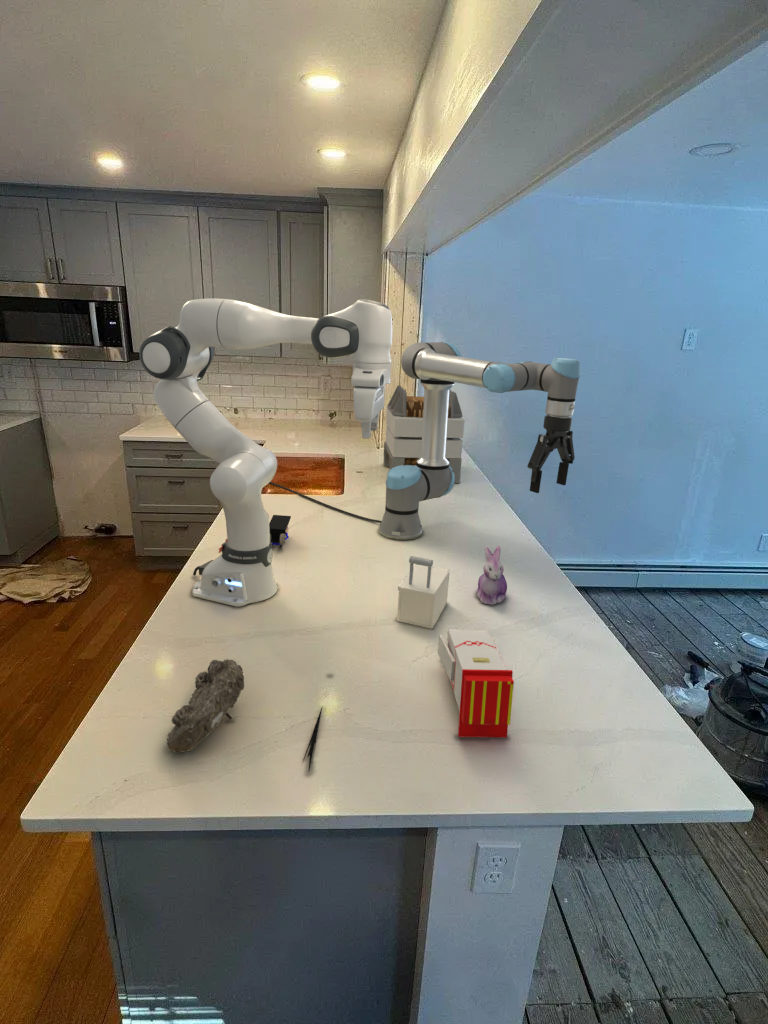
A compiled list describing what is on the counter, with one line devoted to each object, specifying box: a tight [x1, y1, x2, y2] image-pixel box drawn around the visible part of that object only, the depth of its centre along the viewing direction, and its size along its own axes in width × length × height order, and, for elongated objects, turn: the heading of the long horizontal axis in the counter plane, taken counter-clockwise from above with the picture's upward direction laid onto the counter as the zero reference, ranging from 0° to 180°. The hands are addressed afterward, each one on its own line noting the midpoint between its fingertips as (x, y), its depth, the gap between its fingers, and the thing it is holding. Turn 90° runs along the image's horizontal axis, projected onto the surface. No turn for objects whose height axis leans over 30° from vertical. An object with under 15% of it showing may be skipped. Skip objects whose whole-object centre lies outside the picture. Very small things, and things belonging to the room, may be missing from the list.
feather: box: [301, 673, 332, 771], centre depth 108 cm, size 2×28×2 cm
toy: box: [437, 628, 515, 738], centre depth 117 cm, size 12×13×30 cm
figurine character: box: [269, 514, 292, 550], centre depth 187 cm, size 7×8×15 cm
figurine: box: [476, 545, 508, 605], centre depth 155 cm, size 9×10×15 cm
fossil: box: [166, 658, 245, 754], centre depth 106 cm, size 22×10×15 cm
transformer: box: [383, 384, 465, 484], centre depth 268 cm, size 34×33×41 cm
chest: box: [396, 574, 450, 630], centre depth 148 cm, size 14×9×9 cm, turn 160°
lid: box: [397, 555, 451, 598], centre depth 144 cm, size 15×9×9 cm, turn 159°
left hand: (370, 434), depth 135 cm, fingers open, 8 cm apart
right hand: (547, 488), depth 166 cm, fingers open, 13 cm apart
